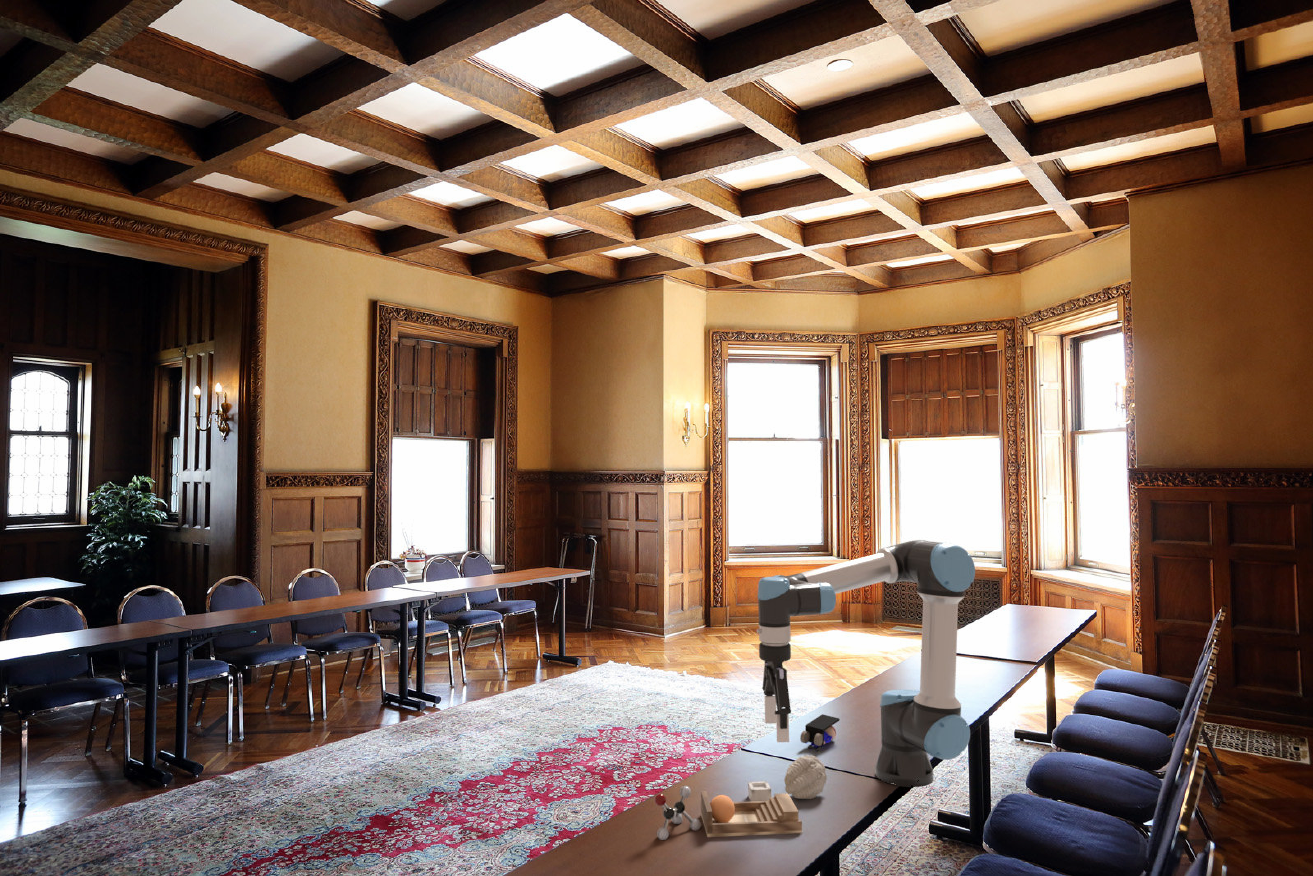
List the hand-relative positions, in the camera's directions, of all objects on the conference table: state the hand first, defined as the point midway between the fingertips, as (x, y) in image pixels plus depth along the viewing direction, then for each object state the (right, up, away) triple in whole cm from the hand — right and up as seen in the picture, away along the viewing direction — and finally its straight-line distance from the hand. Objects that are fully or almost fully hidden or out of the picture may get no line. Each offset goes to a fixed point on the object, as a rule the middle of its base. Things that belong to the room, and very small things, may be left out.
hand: (776, 732), depth 191 cm
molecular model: (-25, -22, -5) cm, 34 cm away
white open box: (-2, -22, +13) cm, 26 cm away
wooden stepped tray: (-6, -22, -1) cm, 23 cm away
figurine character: (+17, -21, +47) cm, 55 cm away
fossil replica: (+10, -23, +15) cm, 29 cm away
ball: (-13, -18, -2) cm, 22 cm away
